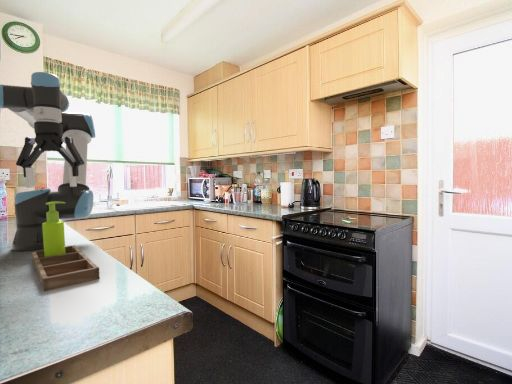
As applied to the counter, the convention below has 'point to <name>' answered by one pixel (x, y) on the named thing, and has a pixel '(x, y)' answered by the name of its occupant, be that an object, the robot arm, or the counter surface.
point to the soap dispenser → (53, 232)
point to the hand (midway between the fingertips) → (52, 187)
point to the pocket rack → (64, 268)
